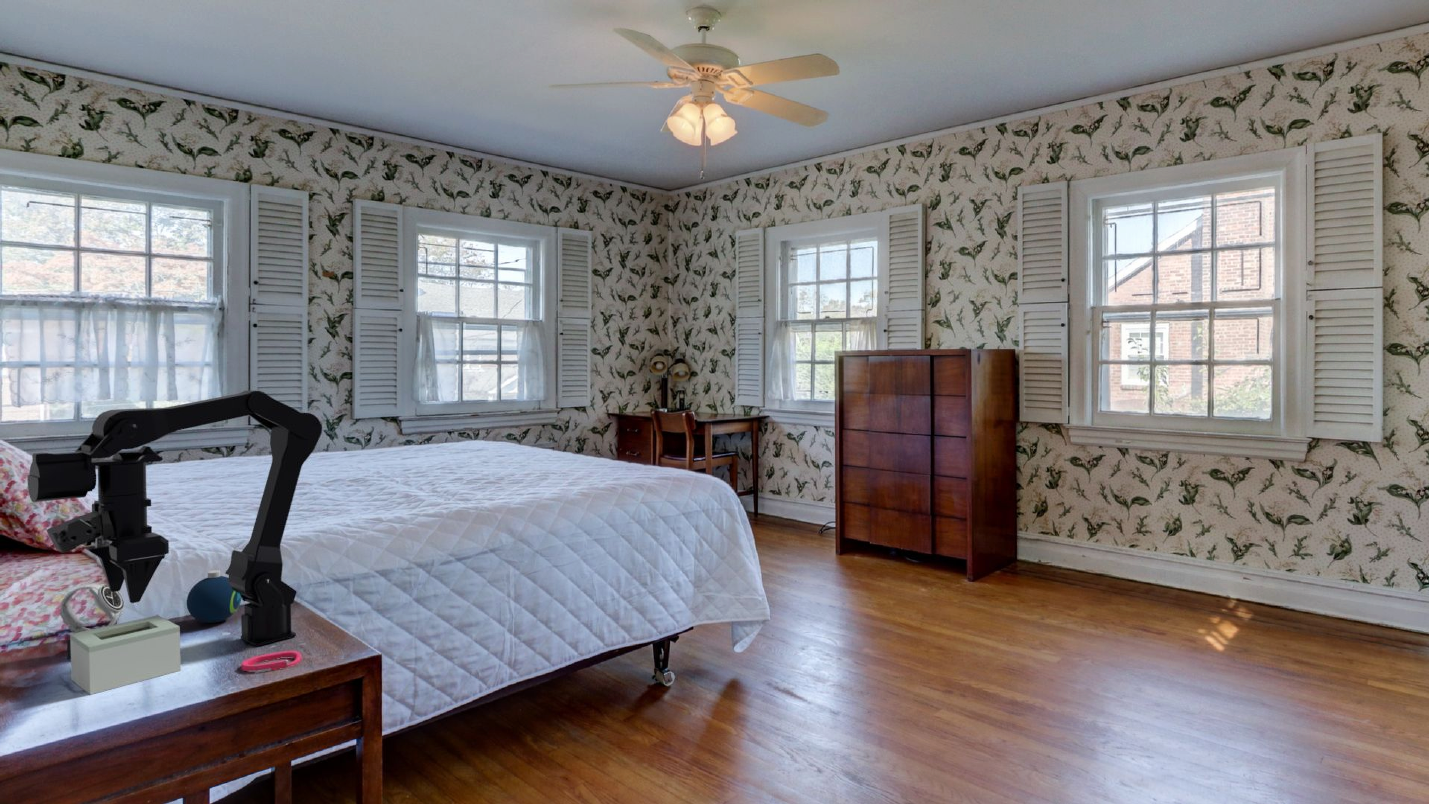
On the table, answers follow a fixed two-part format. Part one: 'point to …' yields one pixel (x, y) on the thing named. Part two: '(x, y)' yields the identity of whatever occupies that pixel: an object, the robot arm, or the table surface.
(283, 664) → the fitness band
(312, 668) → the table surface
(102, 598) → the watch
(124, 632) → the coin box
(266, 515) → the robot arm
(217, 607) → the christmas ornament
